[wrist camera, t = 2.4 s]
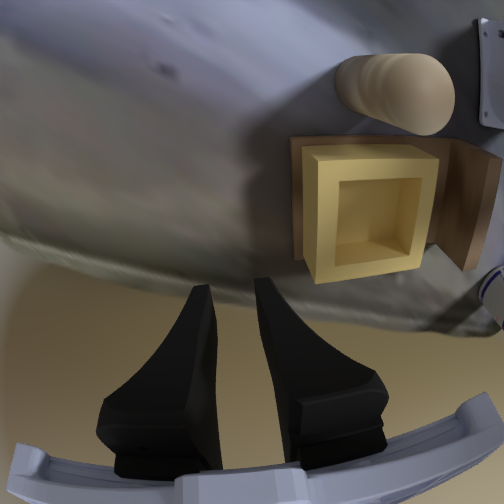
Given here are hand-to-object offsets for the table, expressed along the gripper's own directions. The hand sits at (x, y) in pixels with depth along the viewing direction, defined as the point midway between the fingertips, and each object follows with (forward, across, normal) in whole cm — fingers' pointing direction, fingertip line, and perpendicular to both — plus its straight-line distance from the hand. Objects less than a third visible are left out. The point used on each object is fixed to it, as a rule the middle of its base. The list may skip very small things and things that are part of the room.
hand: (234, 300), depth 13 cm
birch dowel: (+9, -10, -8) cm, 16 cm away
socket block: (+9, -9, 0) cm, 13 cm away
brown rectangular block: (+9, -12, 0) cm, 15 cm away
